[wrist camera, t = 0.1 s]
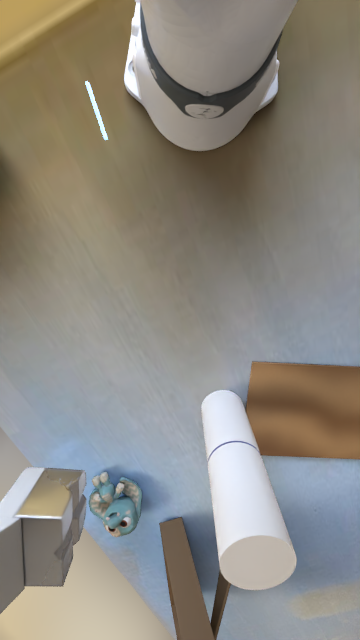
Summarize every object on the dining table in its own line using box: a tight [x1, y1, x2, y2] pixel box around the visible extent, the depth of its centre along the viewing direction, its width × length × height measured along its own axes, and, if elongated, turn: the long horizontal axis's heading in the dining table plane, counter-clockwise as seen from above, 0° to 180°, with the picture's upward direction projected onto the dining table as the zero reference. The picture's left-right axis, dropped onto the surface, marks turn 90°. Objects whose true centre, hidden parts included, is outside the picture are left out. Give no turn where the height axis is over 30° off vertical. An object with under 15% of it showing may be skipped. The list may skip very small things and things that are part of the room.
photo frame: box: [159, 517, 231, 640], centre depth 51 cm, size 15×22×25 cm
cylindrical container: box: [201, 390, 297, 590], centre depth 40 cm, size 7×7×25 cm
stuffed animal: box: [89, 472, 142, 537], centre depth 55 cm, size 11×7×12 cm
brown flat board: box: [246, 362, 360, 459], centre depth 53 cm, size 18×29×1 cm, turn 87°
